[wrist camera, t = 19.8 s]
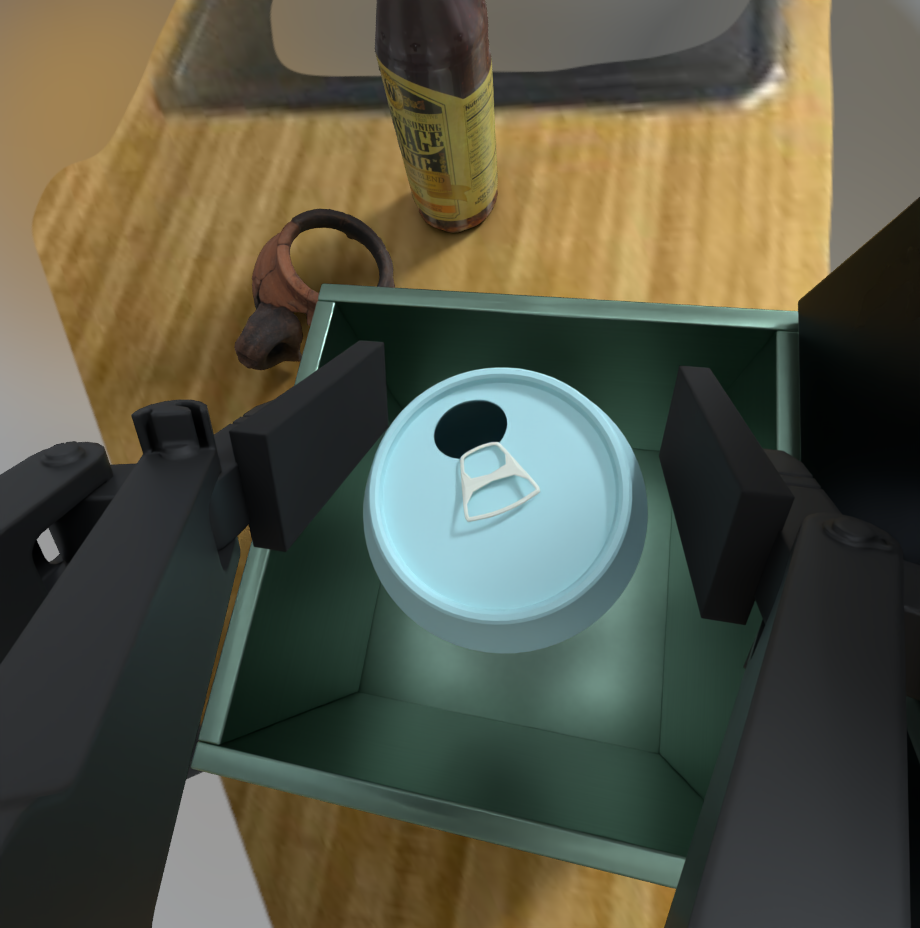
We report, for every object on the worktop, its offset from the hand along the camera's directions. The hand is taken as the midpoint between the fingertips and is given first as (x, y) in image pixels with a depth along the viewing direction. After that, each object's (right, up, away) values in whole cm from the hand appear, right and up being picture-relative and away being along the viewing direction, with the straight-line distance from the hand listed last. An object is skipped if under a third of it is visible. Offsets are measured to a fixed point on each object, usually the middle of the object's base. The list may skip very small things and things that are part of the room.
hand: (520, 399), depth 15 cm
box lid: (+8, -2, -9) cm, 13 cm away
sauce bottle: (-2, +17, +24) cm, 30 cm away
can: (+1, -6, +8) cm, 10 cm away
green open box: (+2, -8, +15) cm, 17 cm away
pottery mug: (-11, +8, +22) cm, 26 cm away
